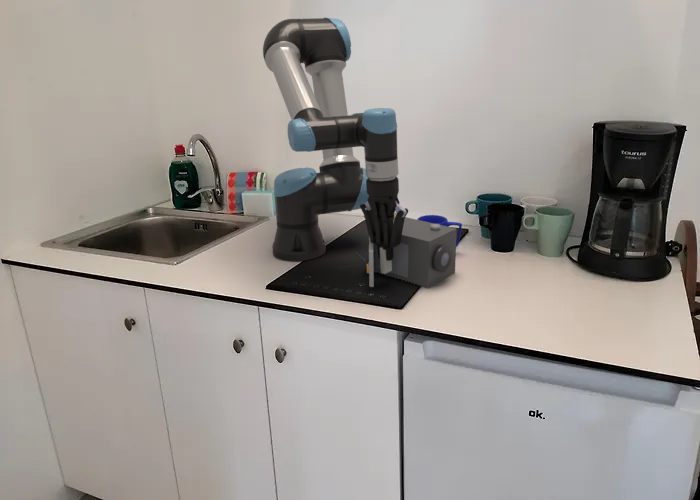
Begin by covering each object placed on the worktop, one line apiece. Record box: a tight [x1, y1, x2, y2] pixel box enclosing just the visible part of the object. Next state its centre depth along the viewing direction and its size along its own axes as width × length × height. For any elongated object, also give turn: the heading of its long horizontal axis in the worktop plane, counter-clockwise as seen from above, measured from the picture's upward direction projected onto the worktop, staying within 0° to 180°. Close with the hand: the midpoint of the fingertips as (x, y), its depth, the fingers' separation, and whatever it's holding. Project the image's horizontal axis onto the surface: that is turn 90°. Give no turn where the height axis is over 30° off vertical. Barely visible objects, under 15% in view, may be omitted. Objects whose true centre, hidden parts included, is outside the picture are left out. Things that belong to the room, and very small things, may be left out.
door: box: [366, 236, 375, 288], centre depth 141 cm, size 12×2×10 cm, turn 178°
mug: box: [416, 214, 463, 248], centre depth 158 cm, size 8×12×10 cm
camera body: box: [373, 216, 458, 289], centre depth 145 cm, size 20×12×13 cm, turn 48°
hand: (386, 271), depth 140 cm, fingers closed
